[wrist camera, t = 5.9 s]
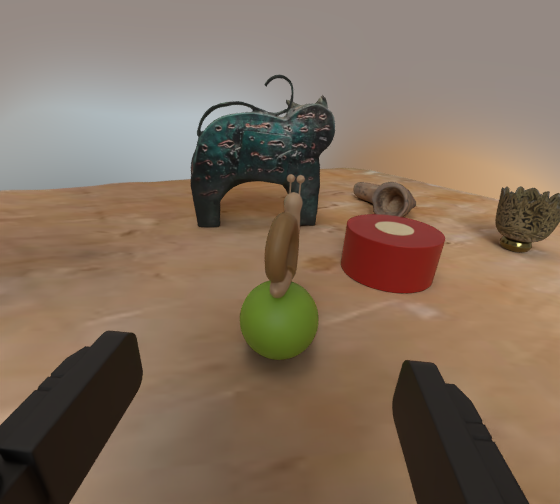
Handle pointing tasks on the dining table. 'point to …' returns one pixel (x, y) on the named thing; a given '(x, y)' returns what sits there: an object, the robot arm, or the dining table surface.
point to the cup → (526, 217)
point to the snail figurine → (281, 292)
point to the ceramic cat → (260, 154)
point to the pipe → (386, 197)
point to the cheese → (391, 252)
